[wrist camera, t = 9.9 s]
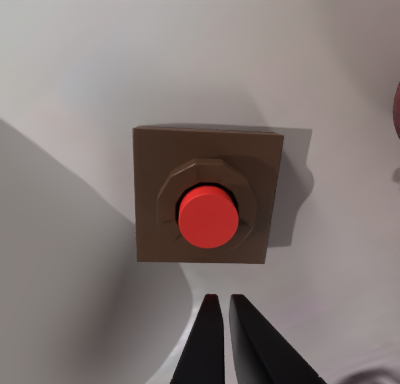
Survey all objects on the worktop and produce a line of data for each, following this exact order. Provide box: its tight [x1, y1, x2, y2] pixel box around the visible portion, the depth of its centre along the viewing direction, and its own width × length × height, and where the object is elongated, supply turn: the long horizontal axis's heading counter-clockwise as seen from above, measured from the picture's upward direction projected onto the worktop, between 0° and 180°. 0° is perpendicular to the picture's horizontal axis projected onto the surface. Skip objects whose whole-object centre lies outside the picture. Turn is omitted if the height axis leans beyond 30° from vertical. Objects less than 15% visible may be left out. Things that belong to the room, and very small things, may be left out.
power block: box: [133, 126, 284, 264], centre depth 18 cm, size 10×10×4 cm
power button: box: [179, 185, 238, 248], centre depth 16 cm, size 4×4×2 cm
